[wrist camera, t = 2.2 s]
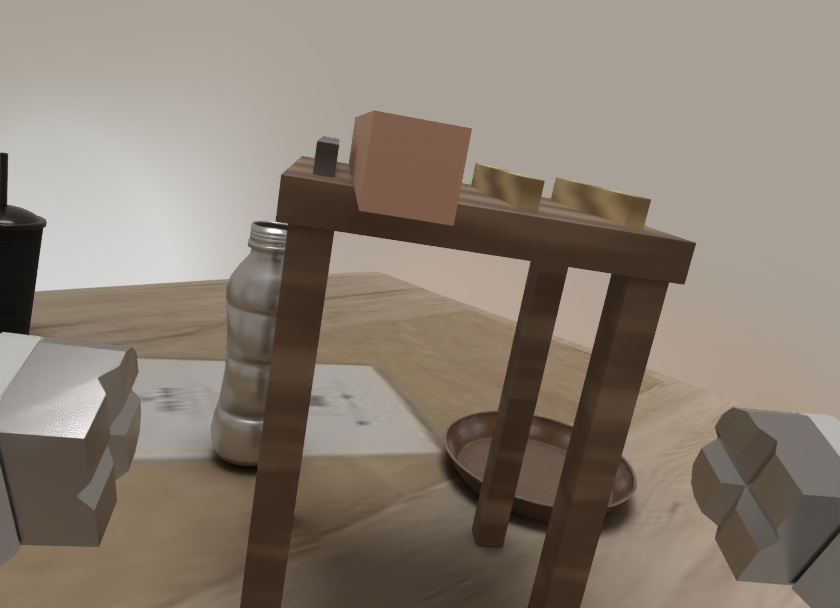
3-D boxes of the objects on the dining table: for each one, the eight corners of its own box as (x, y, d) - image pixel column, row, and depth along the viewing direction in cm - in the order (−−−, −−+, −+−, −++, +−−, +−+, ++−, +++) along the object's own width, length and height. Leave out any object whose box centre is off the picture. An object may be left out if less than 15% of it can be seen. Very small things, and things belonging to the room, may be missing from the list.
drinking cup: (-34, 331, 71) (-33, 144, 66) (47, 334, 74) (53, 155, 69) (-54, 356, 64) (-54, 150, 59) (36, 359, 67) (42, 162, 62)
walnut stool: (568, 697, 37) (705, 211, 30) (220, 681, 34) (285, 138, 27) (501, 528, 52) (581, 181, 45) (257, 507, 49) (305, 132, 42)
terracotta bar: (453, 225, 21) (471, 128, 20) (359, 210, 20) (374, 110, 19) (393, 171, 44) (400, 125, 43) (348, 163, 43) (355, 117, 42)
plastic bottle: (283, 439, 60) (311, 223, 55) (288, 477, 54) (321, 239, 49) (209, 436, 58) (232, 213, 53) (206, 476, 52) (232, 227, 47)
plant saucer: (566, 566, 49) (576, 531, 48) (399, 463, 60) (405, 432, 59) (660, 498, 62) (668, 469, 61) (509, 423, 73) (514, 398, 72)
